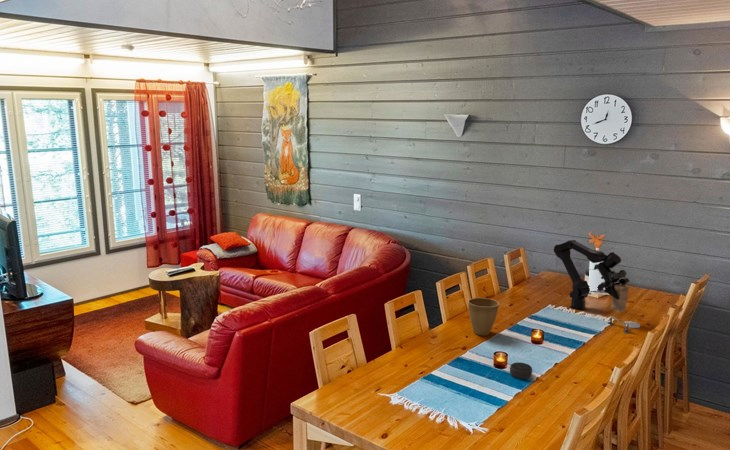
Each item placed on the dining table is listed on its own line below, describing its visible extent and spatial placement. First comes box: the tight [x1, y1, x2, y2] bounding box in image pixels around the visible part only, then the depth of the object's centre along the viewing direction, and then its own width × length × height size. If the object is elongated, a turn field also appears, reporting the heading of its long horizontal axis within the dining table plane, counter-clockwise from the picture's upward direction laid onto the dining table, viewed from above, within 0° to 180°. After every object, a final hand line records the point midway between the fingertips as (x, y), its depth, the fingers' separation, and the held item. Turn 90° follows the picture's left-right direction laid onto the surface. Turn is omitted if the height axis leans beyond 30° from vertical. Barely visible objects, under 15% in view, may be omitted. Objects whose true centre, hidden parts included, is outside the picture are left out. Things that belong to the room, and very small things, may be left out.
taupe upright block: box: [610, 284, 630, 313], centre depth 308 cm, size 5×5×13 cm
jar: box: [584, 269, 590, 283], centre depth 367 cm, size 9×8×12 cm
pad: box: [623, 320, 641, 329], centre depth 306 cm, size 8×8×1 cm
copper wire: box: [606, 315, 631, 334], centre depth 302 cm, size 14×3×4 cm, turn 17°
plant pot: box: [467, 297, 500, 336], centre depth 292 cm, size 15×15×16 cm
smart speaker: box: [509, 361, 533, 380], centre depth 246 cm, size 9×9×4 cm
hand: (621, 298), depth 306 cm, fingers closed on taupe upright block, 5 cm apart
